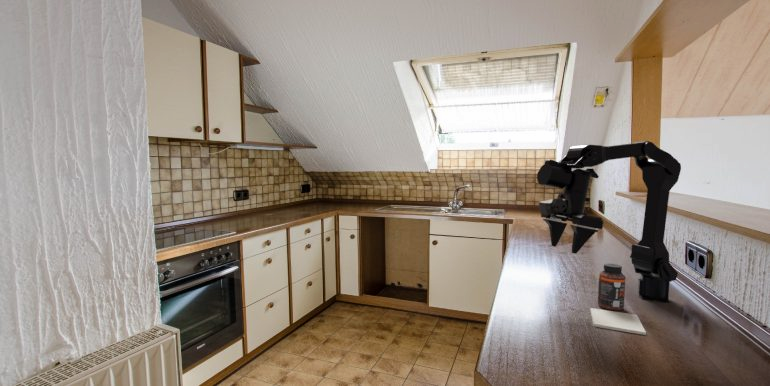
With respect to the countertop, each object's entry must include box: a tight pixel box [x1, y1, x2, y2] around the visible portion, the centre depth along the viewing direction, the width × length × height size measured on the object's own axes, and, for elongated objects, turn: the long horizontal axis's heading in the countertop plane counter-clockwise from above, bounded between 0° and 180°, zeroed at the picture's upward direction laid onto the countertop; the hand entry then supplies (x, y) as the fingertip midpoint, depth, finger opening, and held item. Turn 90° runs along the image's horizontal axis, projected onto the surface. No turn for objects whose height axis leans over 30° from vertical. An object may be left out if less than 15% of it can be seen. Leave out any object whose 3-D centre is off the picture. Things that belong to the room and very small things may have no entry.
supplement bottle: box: [597, 263, 626, 312], centre depth 97 cm, size 6×6×11 cm
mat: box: [589, 307, 647, 336], centre depth 88 cm, size 10×11×1 cm
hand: (563, 249), depth 98 cm, fingers open, 9 cm apart
